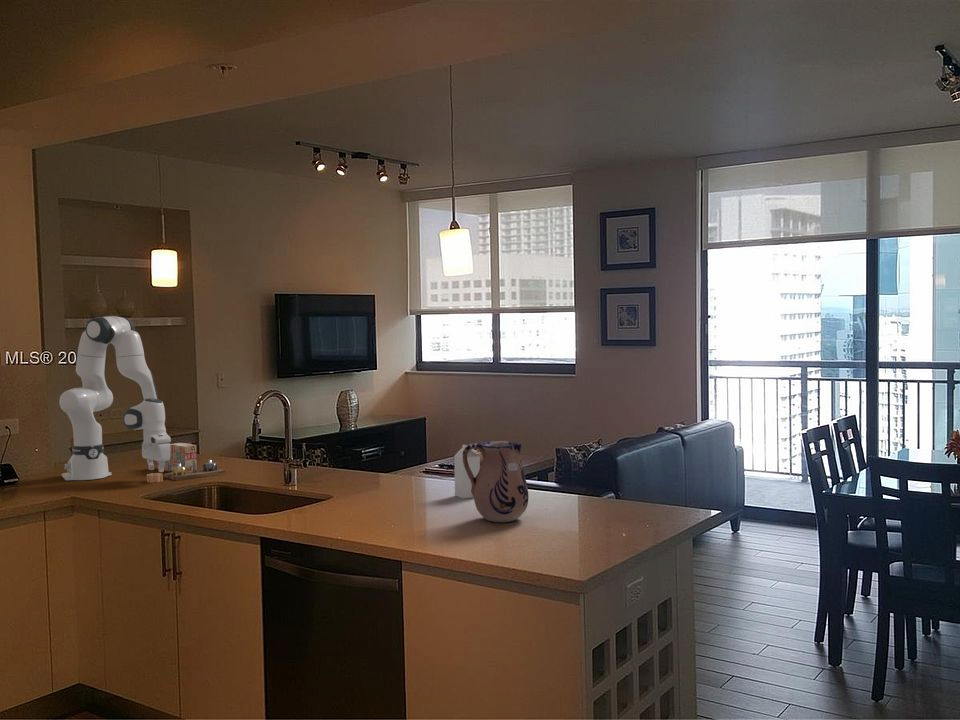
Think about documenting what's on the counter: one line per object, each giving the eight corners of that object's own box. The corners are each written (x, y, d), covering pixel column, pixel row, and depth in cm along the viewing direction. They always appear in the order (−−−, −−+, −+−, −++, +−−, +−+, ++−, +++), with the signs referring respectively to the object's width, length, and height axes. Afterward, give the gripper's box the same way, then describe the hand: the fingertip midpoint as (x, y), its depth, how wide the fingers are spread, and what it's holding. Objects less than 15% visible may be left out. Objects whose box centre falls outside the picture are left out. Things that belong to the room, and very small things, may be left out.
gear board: (164, 477, 362) (163, 462, 362) (212, 470, 377) (212, 456, 377) (176, 480, 353) (176, 465, 353) (225, 474, 369) (225, 459, 368)
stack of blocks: (156, 469, 383) (155, 442, 383) (168, 467, 388) (167, 441, 388) (185, 473, 371) (184, 446, 371) (197, 471, 376) (196, 444, 376)
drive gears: (168, 474, 361) (168, 463, 360) (213, 468, 375) (213, 458, 374) (175, 476, 356) (175, 465, 356) (220, 470, 370) (220, 459, 370)
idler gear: (144, 481, 352) (144, 474, 352) (159, 479, 357) (159, 472, 357) (150, 483, 348) (150, 476, 348) (165, 481, 352) (165, 474, 352)
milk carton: (463, 499, 308) (462, 447, 307) (454, 495, 314) (454, 445, 314) (480, 497, 311) (479, 445, 311) (471, 494, 318) (471, 443, 317)
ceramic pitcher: (532, 525, 266) (531, 445, 265) (465, 527, 264) (464, 447, 263) (524, 513, 283) (524, 438, 282) (462, 515, 282) (461, 440, 281)
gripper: (137, 436, 357) (138, 469, 357) (157, 440, 342) (159, 474, 343) (151, 435, 361) (153, 467, 362) (172, 438, 347) (174, 471, 347)
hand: (156, 470), depth 352 cm, fingers open, 8 cm apart
